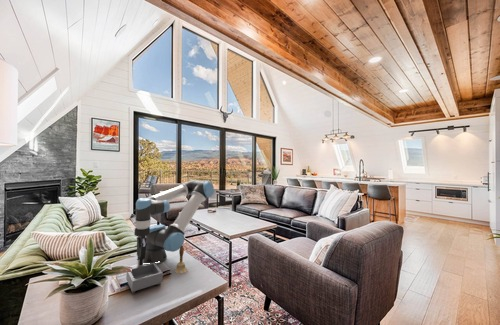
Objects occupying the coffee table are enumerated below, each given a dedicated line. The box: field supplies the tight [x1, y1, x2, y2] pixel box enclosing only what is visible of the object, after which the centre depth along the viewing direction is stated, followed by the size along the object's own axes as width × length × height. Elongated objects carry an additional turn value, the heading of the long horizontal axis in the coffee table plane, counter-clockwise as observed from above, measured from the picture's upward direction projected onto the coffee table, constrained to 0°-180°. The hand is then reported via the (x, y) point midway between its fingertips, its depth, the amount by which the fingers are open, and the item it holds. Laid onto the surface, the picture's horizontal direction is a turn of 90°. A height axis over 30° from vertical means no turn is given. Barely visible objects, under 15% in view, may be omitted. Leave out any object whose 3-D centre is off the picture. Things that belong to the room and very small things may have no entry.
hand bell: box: [174, 244, 189, 274], centre depth 126 cm, size 8×8×16 cm
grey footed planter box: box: [125, 262, 164, 295], centre depth 110 cm, size 14×14×7 cm
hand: (139, 270), depth 115 cm, fingers closed
